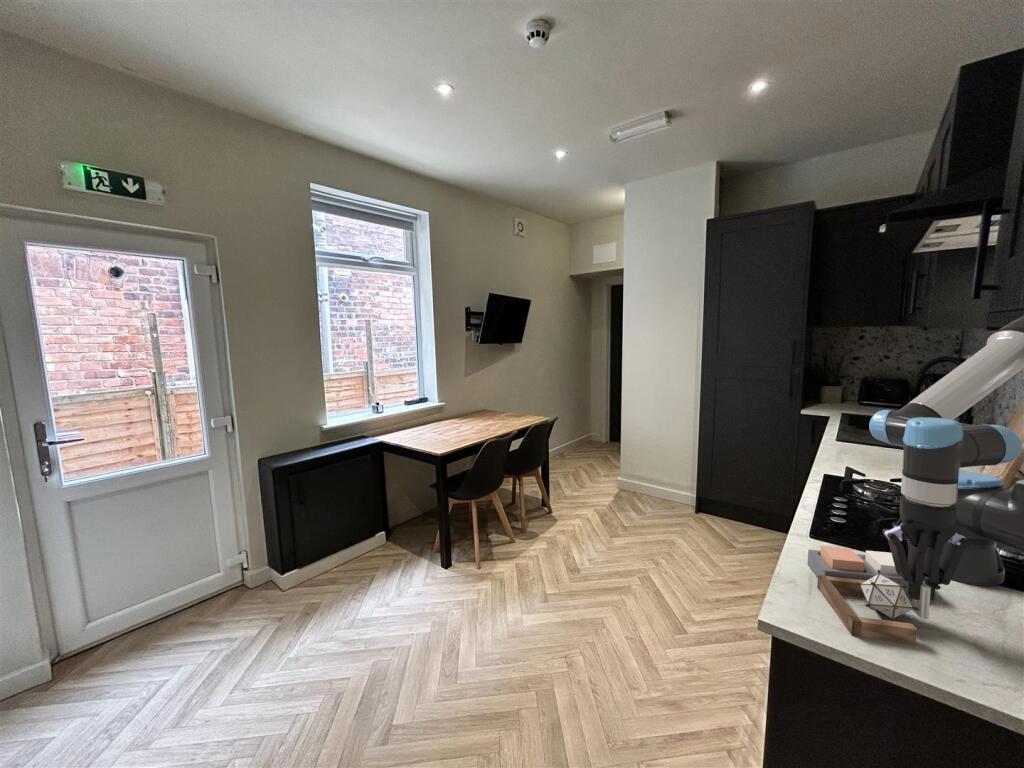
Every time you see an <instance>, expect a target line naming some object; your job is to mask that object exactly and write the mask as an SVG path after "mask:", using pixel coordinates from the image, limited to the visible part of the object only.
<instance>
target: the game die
mask: <svg viewBox="0 0 1024 768" xmlns="http://www.w3.org/2000/svg"><path fill="white" fill-rule="evenodd" d="M877 571H878V574H877V575H875V576H873V577H872V578H870V579H868V580H866V581H865V582H863V583H861V584H860V583H858V582H855V583H856V584H857V585H860V587H861V589H862V591H863V594H864V596H865V597H864V598H865V600H866V601H865V602H866V603H865V604H864V607H866V608H868V607H869V608H873V609H874V610H876V611H878V612H879V613H880V614H881V613H882V614H883V615H885V616H886V617H888V618H889V619H891V620H890V621H895V622H896V620H895V619H896V618H898V617H900V616H902V615H903V614H904V615H905V614H906V613H907V612H910V611H913V610H912V609H915V610H917V611H920V610H919V609H918V608H915V607H913V605H912V601H911V598H910V597H908V595H907V593H906V591H905V589H904V588H907V585H905V584H901V585H900V584H898V583H896V582H894V581H893V580H891V579H889V578H887V577H886V576H884V575H882V574H881V572H880V570H879V569H878V570H877Z"/></svg>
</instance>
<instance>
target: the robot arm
mask: <svg viewBox="0 0 1024 768" xmlns="http://www.w3.org/2000/svg"><path fill="white" fill-rule="evenodd" d="M1022 370H1024V315H1023V316H1021V317H1019V318H1017V319H1015V320H1013V321H1011V322H1008V324H1006V325H1005V326H1002V327H1001V328H999V329H998V330H997V331H995V332H994V333H993V334H991V335H990V336H989V337H988V338H987V340H986V345H985V346H984V347H982V348H981V349H979V350H978V351H977V352H975V353H974V354H973V355H972V356H970V357H968V358H967V359H966V360H965V361H963V362H962V363H961V364H959V365H958V366H956V367H955V368H954V369H952V370H951V371H950V372H948V373H947V374H945V376H942V378H940V379H939V380H937V381H936V382H935V383H934V384H932V385H931V386H929V387H928V388H927V389H925V390H924V391H923V392H921V393H920V394H918V396H916V397H915V398H913V399H912V400H911V401H909V402H908V403H907V404H906V405H904V406H903V407H901V408H900V409H898V410H896V409H895V410H894V409H882V410H878V411H877V412H875V413H874V414H873V415H872V416H871V419H870V421H869V423H868V425H869V426H868V427H869V431H870V434H871V436H872V437H873V438H874V439H875V440H878V441H880V442H883V443H886V444H889V445H891V446H898V447H901V448H903V458H902V460H903V461H902V470H901V471H902V473H901V482H900V483H901V484H900V485H901V487H900V493H901V494H902V495H901V496H900V499H899V516H900V518H899V520H898V521H897V523H896V526H895V527H893V528H891V529H888V528H883V529H882V531H881V532H882V534H883V535H884V537H885V538H886V540H887V541H888V545H889V548H890V553H892V557H893V561H894V565H895V569H896V572H897V574H898V575H900V576H901V577H902V578H903V579H904V580H905V581H907V582H908V594H909V596H911V597H910V598H911V600H912V601H911V603H912V605H913V607H915V608H918V609H919V610H920V611H917V610H915V609H912V610H911V611H913V612H914V613H915V614H916V615H917V616H918V617H919V618H920V619H925V620H929V616H930V603H931V602H935V600H936V590H940V589H941V586H940V585H944V586H949V585H950V584H951V581H952V580H954V581H957V582H962V583H966V584H970V585H978V586H987V587H988V586H989V587H990V586H993V587H994V586H998V585H1002V584H1003V583H1004V582H1005V577H1006V569H1005V567H1004V564H1003V563H1004V562H1003V561H1002V558H1001V555H1000V552H999V550H998V547H997V543H998V544H1001V545H1004V546H1006V547H1008V548H1011V549H1014V550H1016V551H1019V552H1022V553H1024V479H1020V480H1018V481H1017V480H1016V482H1015V484H1014V486H1013V488H1012V489H1009V488H1007V487H1006V488H1005V487H1004V486H1005V483H1004V480H1003V479H1002V478H1001V477H999V476H997V475H996V476H995V475H994V474H992V475H991V474H988V473H982V472H973V471H965V470H964V471H962V470H960V469H961V468H962V469H963V468H971V467H982V466H989V467H990V466H997V465H1001V464H1006V463H1010V462H1013V461H1014V460H1016V459H1017V458H1019V457H1020V455H1021V453H1022V452H1023V451H1022V450H1023V443H1022V440H1021V438H1020V436H1019V435H1018V434H1017V433H1016V432H1015V431H1013V430H1011V428H1008V427H1007V426H1003V425H1000V424H988V423H987V424H986V423H983V424H978V425H976V424H975V425H974V424H969V423H963V422H959V421H957V420H955V419H957V418H958V417H959V416H961V415H963V414H964V413H965V412H967V410H969V409H970V408H972V407H973V406H974V405H976V404H977V403H978V402H979V401H981V400H982V399H984V398H985V397H987V396H988V395H989V394H991V393H992V392H993V391H995V390H996V389H998V388H999V387H1000V386H1002V385H1003V384H1004V383H1005V382H1007V381H1008V380H1010V379H1011V378H1013V376H1016V375H1017V374H1018V373H1019V372H1020V371H1022ZM902 535H903V536H904V538H905V539H906V544H907V547H908V549H907V551H908V553H907V555H906V551H905V548H904V544H903V543H902V541H903V537H902Z"/></svg>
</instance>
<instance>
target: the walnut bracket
mask: <svg viewBox="0 0 1024 768" xmlns="http://www.w3.org/2000/svg"><path fill="white" fill-rule="evenodd" d="M865 581H866V580H859V579H850V578H841V577H832V576H822V575H818V578H817V582H816V583H817V589H818V590H819V592H820V593H821V595H822V596H823V597H824V599H825V600H826V601H827V604H828V605H829V606H830V607H831V608H832V610H833V611H834V613H835V614H836V616H837V617H838V619H839V620H840V621H841V623H842V624H843V626H844V627H845V628H846V631H848V632H849V634H850V635H851V636H855V637H863V638H869V639H876V640H884V641H890V642H897V643H898V642H899V643H906V644H913V645H917V639H918V637H917V636H918V629H917V627H916V626H915V625H914V624H913V623H909V622H901V621H896V620H895V621H891V620H884V619H878V618H870V617H861V616H858V615H857V614H856V613H855V611H854V610H853V608H851V606H850V605H849V604H848V602H847V601H846V600H845V598H844V597H843V596H842V595H849V596H856V597H864V598H865V596H864V594H863V591H862V589H861V587H860V585H857V584H856V583H855V582H858V583H860V584H861V583H863V582H865Z"/></svg>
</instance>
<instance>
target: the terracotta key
mask: <svg viewBox="0 0 1024 768" xmlns="http://www.w3.org/2000/svg"><path fill="white" fill-rule="evenodd" d="M820 551H821V555H820V556H821V558H822V559H823V560H824V561H825V562H826V564H827V565H828V566H829V567H830V568H831V569H838V570H848V571H857V572H864V563H865V562H864V561H863V560H862V559H861V558H860V557H859V556H858V555H857V554H858V553H856V552H855V551H854V550H853V549H852V548H850V547H840V546H839V547H838V546H829V545H828V546H827V545H820Z"/></svg>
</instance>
